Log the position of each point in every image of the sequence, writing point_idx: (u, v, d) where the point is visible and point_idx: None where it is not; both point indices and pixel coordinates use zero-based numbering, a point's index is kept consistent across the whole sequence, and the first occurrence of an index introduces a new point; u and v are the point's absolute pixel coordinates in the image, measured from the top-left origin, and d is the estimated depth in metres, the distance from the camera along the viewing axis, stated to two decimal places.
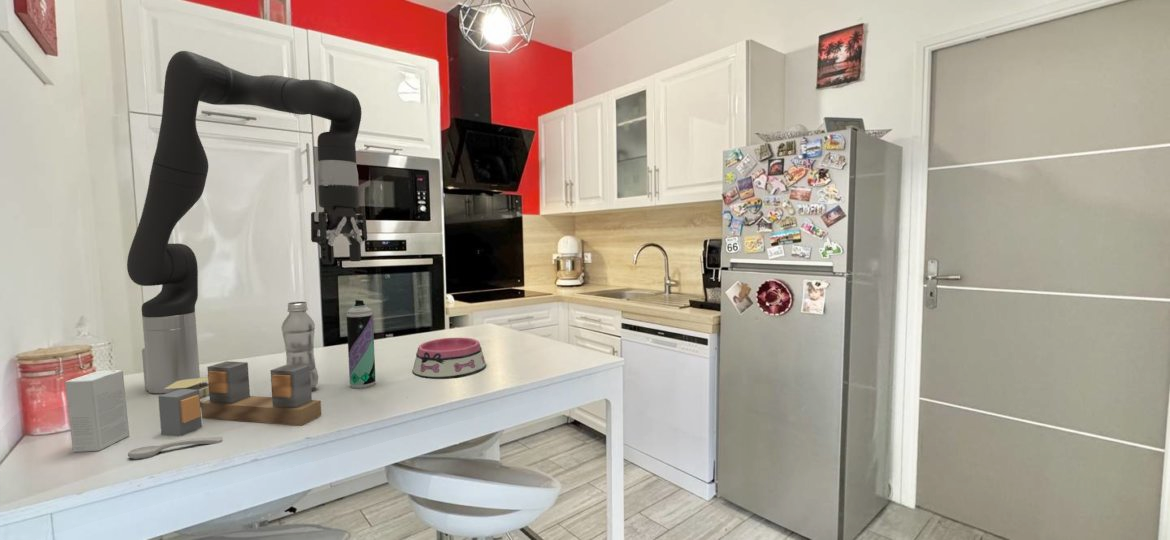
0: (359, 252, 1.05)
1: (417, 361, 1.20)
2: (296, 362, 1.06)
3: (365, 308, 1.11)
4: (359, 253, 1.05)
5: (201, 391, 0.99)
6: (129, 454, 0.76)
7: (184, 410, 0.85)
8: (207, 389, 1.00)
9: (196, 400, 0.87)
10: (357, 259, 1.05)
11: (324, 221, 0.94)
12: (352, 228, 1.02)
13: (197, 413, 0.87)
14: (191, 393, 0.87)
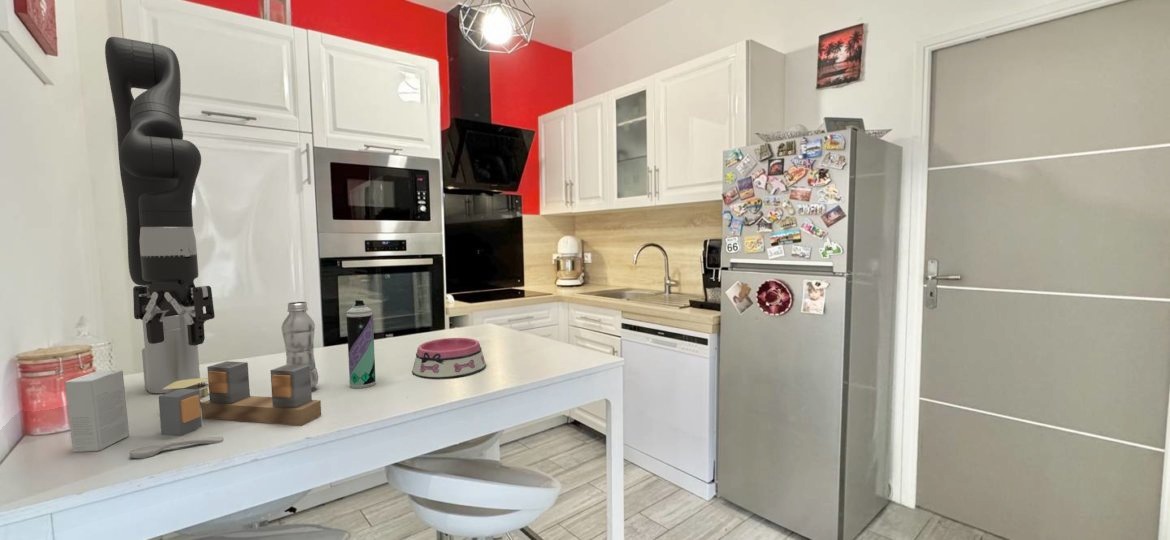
0: None
1: (417, 361, 1.20)
2: (296, 362, 1.06)
3: (365, 308, 1.11)
4: None
5: (199, 391, 0.99)
6: (130, 454, 0.76)
7: (184, 410, 0.85)
8: (205, 389, 1.00)
9: (196, 400, 0.87)
10: (162, 339, 0.87)
11: None
12: None
13: (197, 413, 0.87)
14: (191, 393, 0.87)
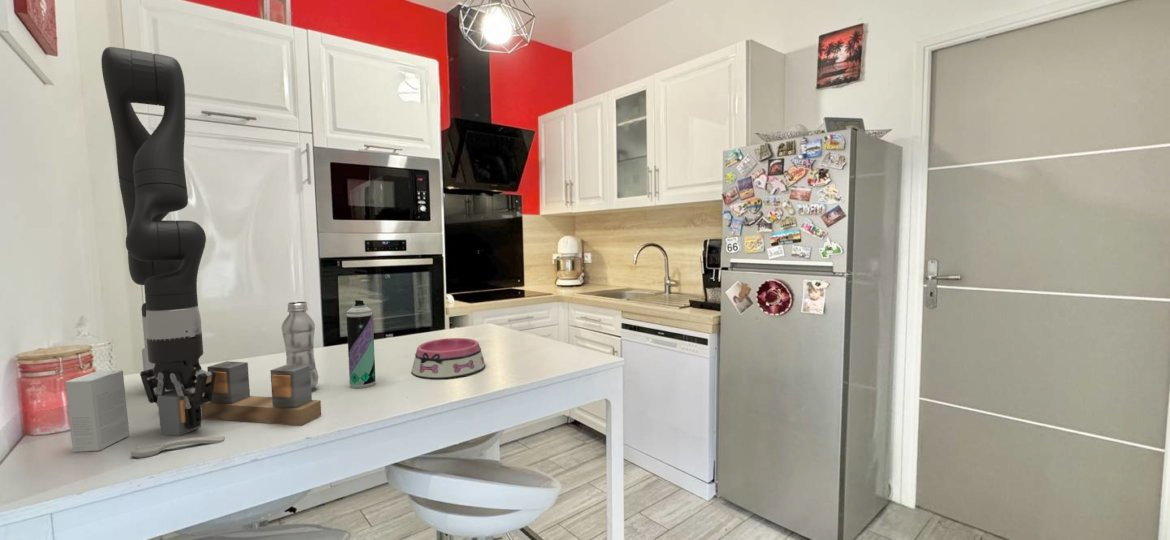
0: None
1: (416, 362, 1.20)
2: (296, 362, 1.06)
3: (365, 308, 1.11)
4: None
5: None
6: (132, 453, 0.76)
7: (183, 410, 0.85)
8: None
9: None
10: None
11: None
12: None
13: None
14: None
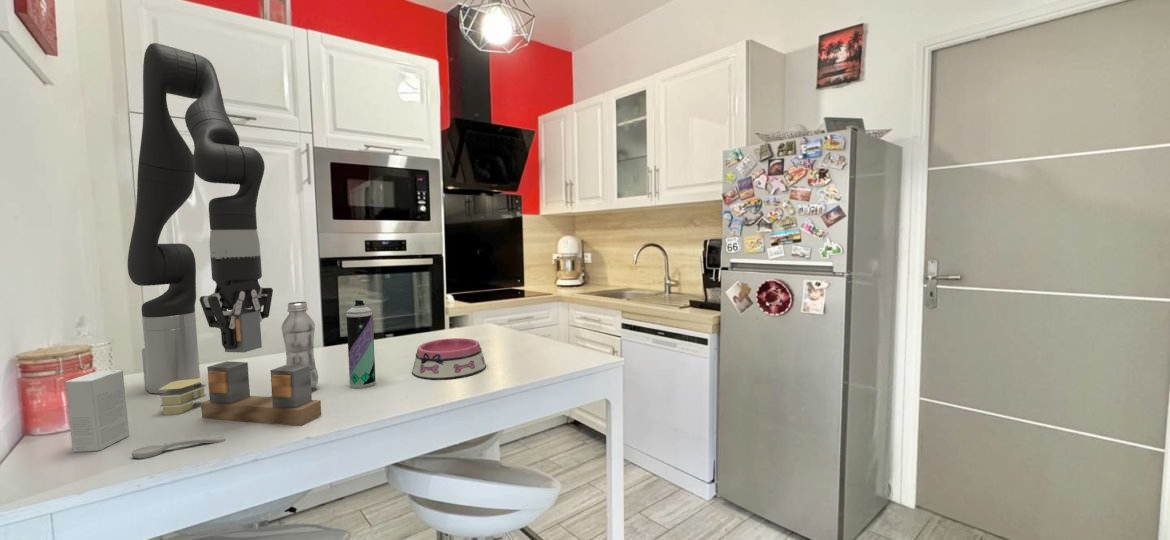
0: None
1: (416, 362, 1.20)
2: (296, 362, 1.06)
3: (365, 308, 1.11)
4: None
5: (196, 392, 0.99)
6: (132, 454, 0.76)
7: None
8: (202, 390, 1.00)
9: None
10: None
11: (217, 305, 0.84)
12: (251, 302, 0.91)
13: None
14: None
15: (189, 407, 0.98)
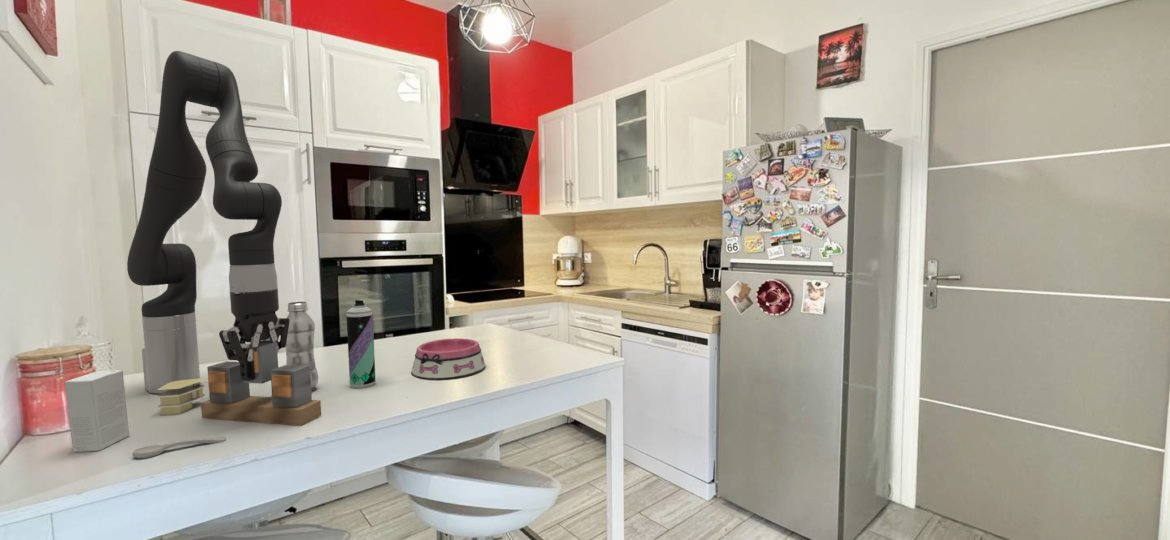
0: None
1: (416, 362, 1.19)
2: (296, 362, 1.06)
3: (365, 308, 1.11)
4: None
5: (194, 392, 0.99)
6: (133, 453, 0.76)
7: None
8: (200, 390, 1.00)
9: None
10: None
11: (236, 340, 0.86)
12: (268, 334, 0.93)
13: None
14: None
15: (188, 407, 0.98)
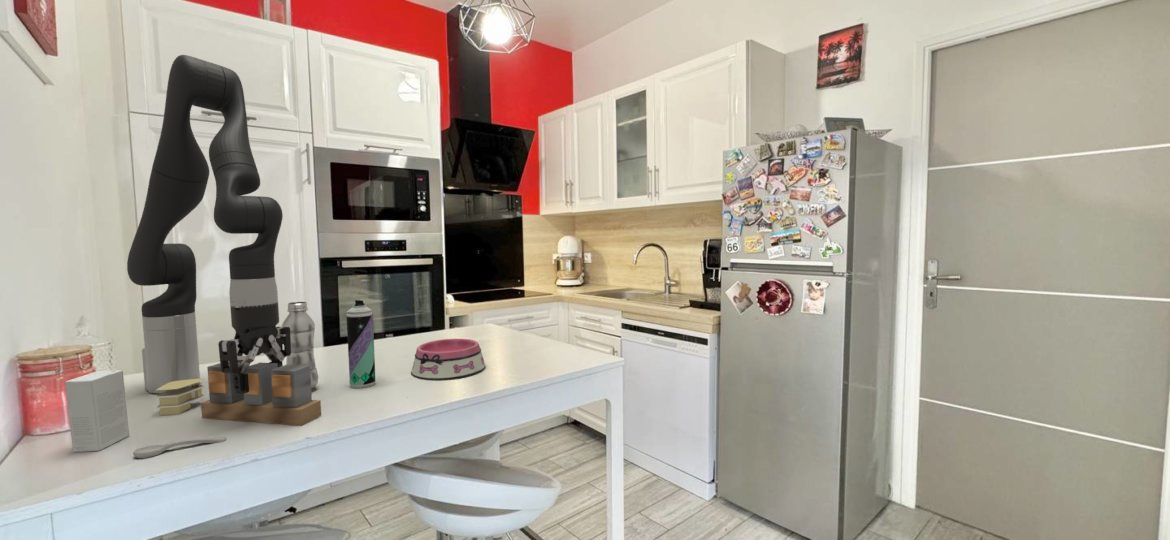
0: None
1: (416, 362, 1.19)
2: (296, 362, 1.06)
3: (365, 308, 1.11)
4: None
5: (193, 392, 0.99)
6: (134, 453, 0.76)
7: None
8: (199, 390, 1.00)
9: (253, 377, 0.90)
10: None
11: (234, 351, 0.86)
12: (271, 346, 0.94)
13: (254, 390, 0.90)
14: (253, 369, 0.91)
15: (186, 407, 0.97)
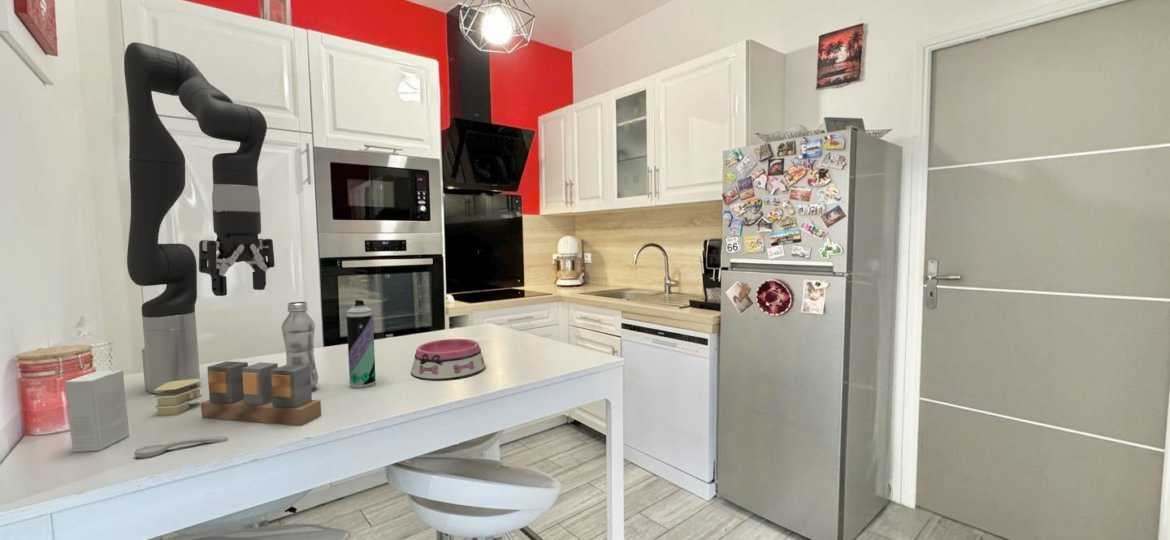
0: (263, 280, 0.98)
1: (416, 363, 1.19)
2: (296, 362, 1.06)
3: (365, 308, 1.11)
4: (263, 281, 0.98)
5: (191, 393, 0.99)
6: (135, 453, 0.76)
7: (244, 382, 0.91)
8: (197, 390, 0.99)
9: (253, 377, 0.90)
10: (260, 288, 0.98)
11: (213, 251, 0.87)
12: (253, 255, 0.96)
13: (254, 390, 0.90)
14: (253, 369, 0.91)
15: (185, 408, 0.97)
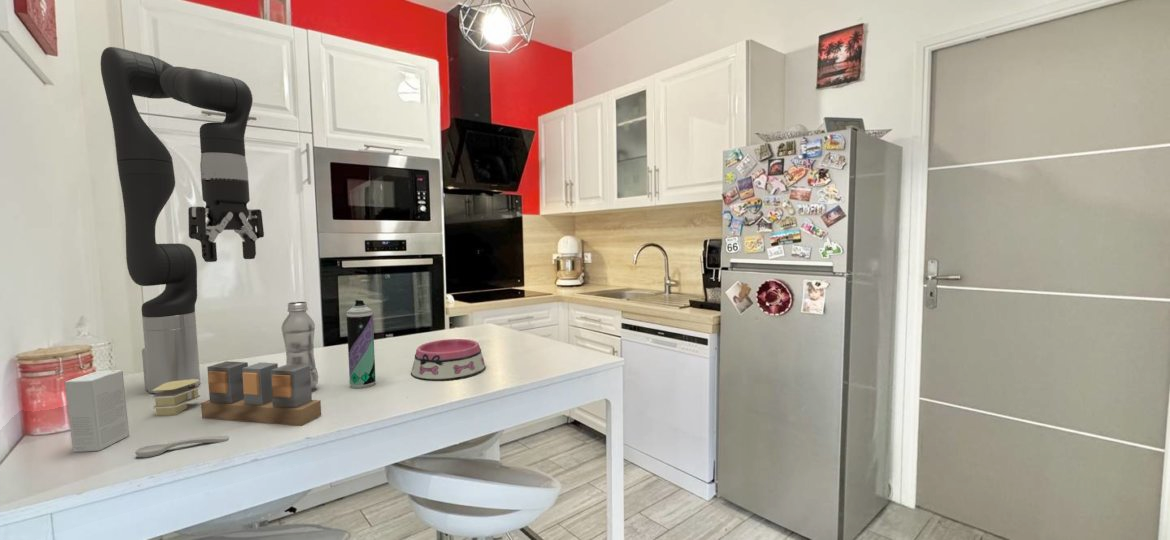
0: (253, 249, 1.00)
1: (416, 363, 1.19)
2: (296, 362, 1.06)
3: (365, 308, 1.11)
4: (253, 250, 1.00)
5: (189, 393, 0.98)
6: (136, 453, 0.76)
7: (244, 382, 0.91)
8: (196, 391, 0.99)
9: (253, 377, 0.90)
10: (250, 257, 1.00)
11: (203, 216, 0.89)
12: (242, 224, 0.98)
13: (254, 390, 0.90)
14: (253, 369, 0.91)
15: (183, 408, 0.97)
